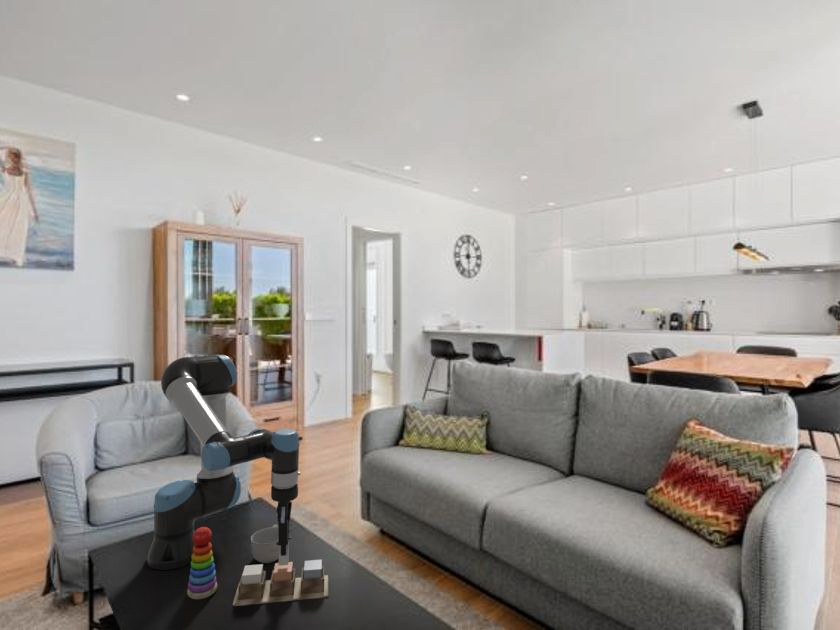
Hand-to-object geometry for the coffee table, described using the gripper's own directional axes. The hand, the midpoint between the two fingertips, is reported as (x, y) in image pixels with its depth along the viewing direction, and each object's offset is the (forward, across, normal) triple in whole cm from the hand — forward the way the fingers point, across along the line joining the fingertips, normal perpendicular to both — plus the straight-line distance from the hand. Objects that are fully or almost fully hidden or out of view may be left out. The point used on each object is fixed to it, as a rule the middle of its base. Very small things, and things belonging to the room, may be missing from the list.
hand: (283, 563), depth 138 cm
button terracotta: (+5, 0, 0) cm, 5 cm away
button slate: (+5, 0, -8) cm, 10 cm away
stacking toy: (+8, +3, +23) cm, 24 cm away
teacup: (+8, +20, +6) cm, 22 cm away
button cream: (+5, 0, +9) cm, 10 cm away
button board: (+8, 0, 0) cm, 8 cm away
